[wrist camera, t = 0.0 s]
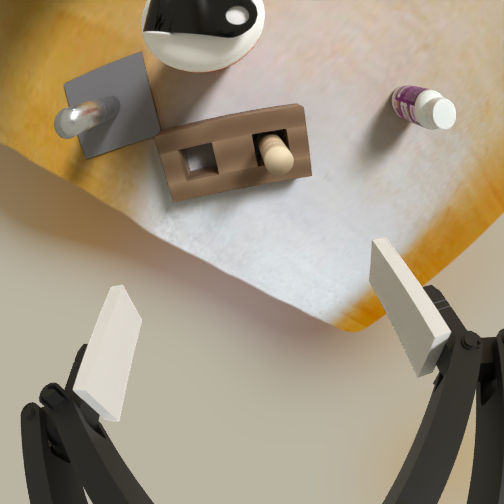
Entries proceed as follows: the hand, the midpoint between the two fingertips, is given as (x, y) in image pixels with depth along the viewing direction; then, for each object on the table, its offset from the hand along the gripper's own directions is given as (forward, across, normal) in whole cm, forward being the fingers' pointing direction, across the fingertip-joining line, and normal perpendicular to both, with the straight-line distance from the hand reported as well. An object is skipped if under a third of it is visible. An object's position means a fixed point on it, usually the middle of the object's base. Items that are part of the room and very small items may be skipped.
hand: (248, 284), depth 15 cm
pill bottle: (+28, +25, +4) cm, 38 cm away
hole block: (+28, 0, 0) cm, 28 cm away
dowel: (+28, +4, 0) cm, 28 cm away
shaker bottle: (+28, 0, +15) cm, 32 cm away
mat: (+28, -15, +10) cm, 33 cm away
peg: (+28, -15, +10) cm, 33 cm away
